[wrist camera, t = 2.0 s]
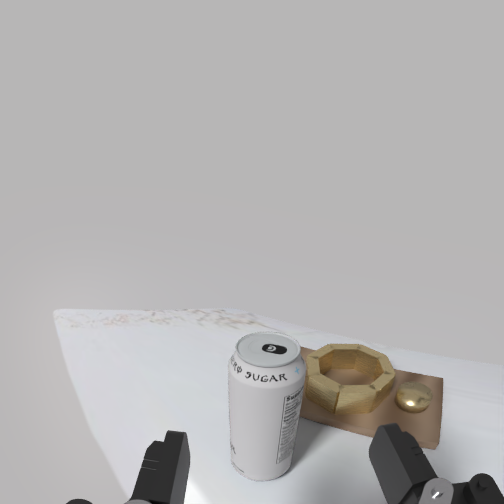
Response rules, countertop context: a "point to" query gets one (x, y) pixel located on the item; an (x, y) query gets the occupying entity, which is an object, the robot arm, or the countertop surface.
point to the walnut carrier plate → (382, 407)
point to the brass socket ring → (359, 396)
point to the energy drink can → (264, 403)
